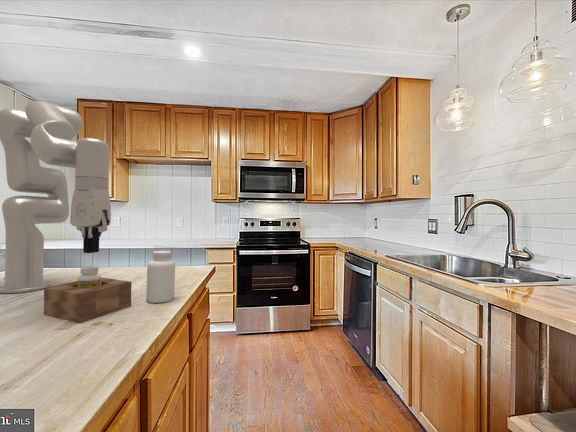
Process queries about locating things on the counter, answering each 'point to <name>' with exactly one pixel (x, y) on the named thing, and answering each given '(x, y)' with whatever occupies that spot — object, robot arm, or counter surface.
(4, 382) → the counter surface
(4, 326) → the counter surface
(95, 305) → the socket block
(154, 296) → the pill bottle
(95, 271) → the supplement bottle
